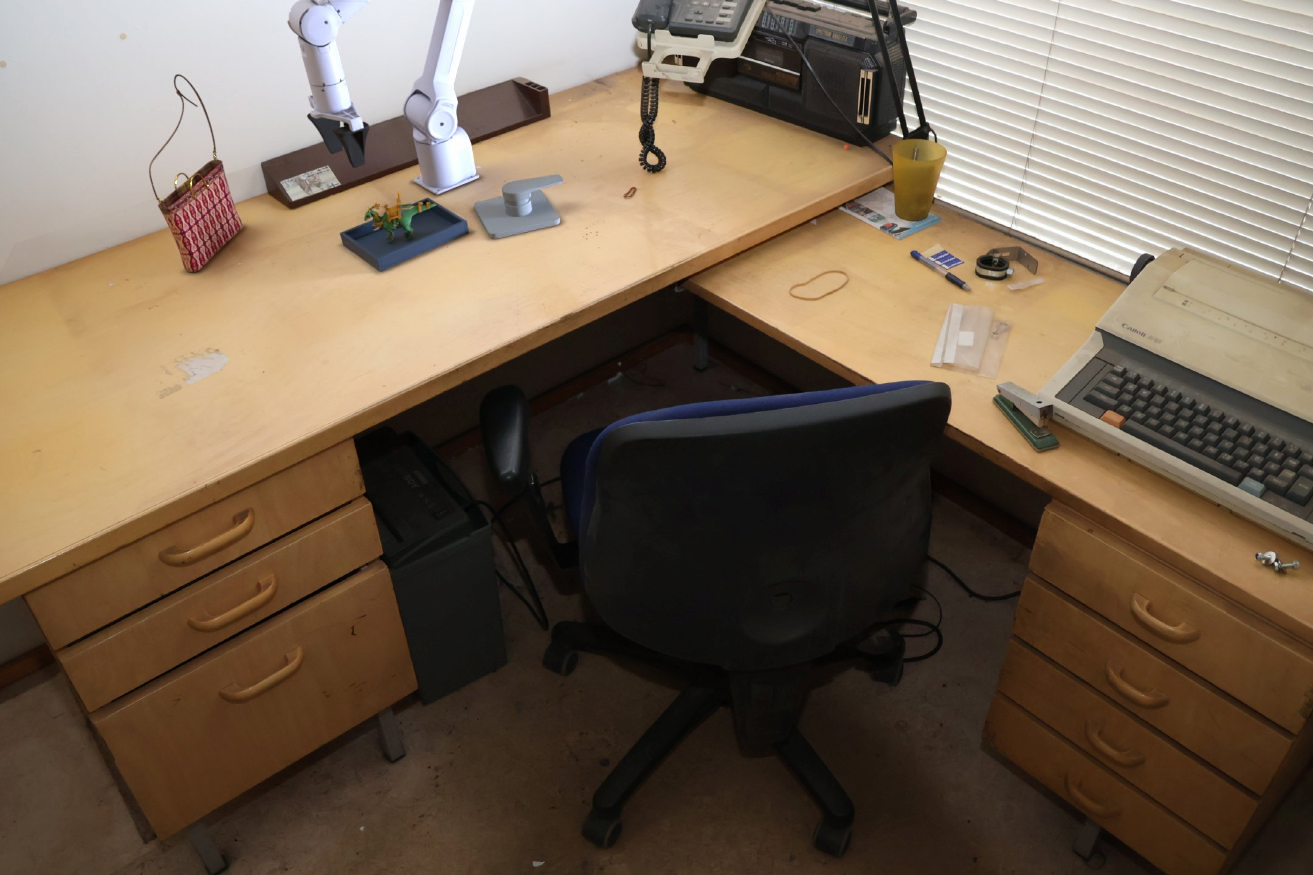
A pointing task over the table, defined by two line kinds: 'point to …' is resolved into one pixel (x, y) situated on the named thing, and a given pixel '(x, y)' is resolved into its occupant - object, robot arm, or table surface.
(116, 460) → the table surface
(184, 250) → the handbag
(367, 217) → the figurine
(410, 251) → the tray
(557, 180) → the shower valve
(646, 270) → the table surface
